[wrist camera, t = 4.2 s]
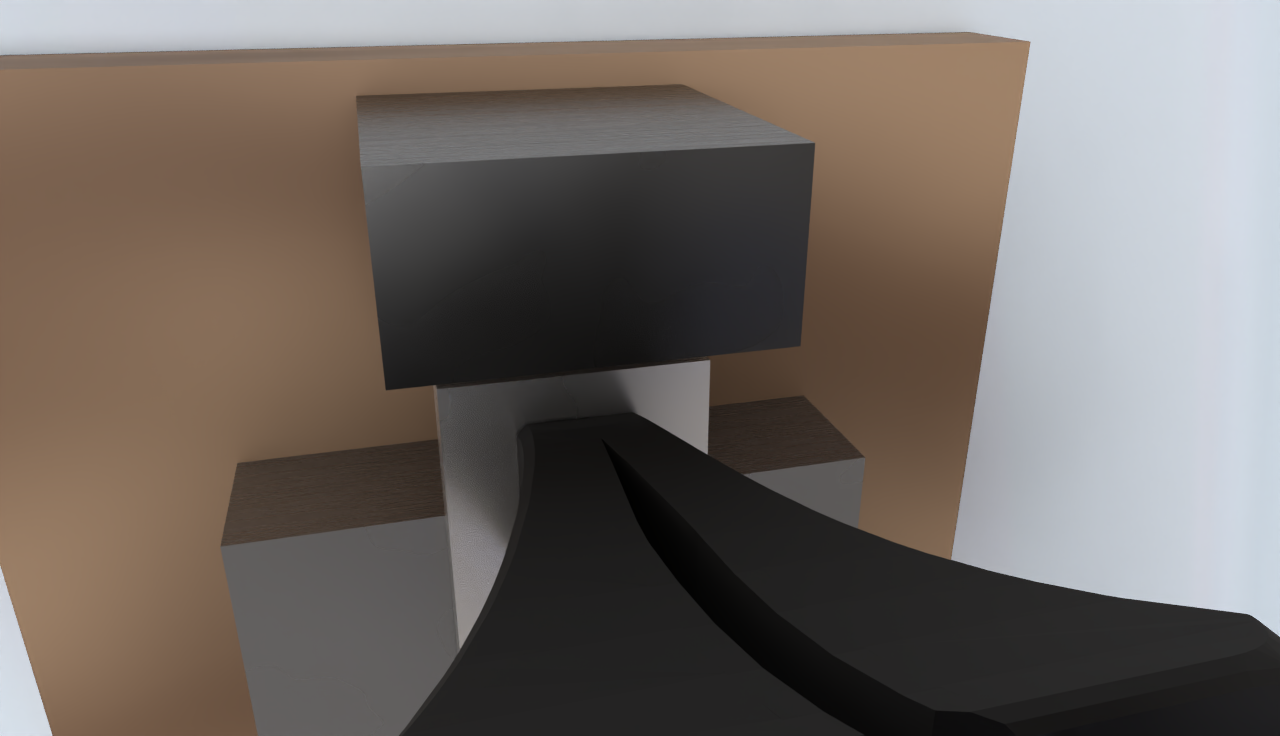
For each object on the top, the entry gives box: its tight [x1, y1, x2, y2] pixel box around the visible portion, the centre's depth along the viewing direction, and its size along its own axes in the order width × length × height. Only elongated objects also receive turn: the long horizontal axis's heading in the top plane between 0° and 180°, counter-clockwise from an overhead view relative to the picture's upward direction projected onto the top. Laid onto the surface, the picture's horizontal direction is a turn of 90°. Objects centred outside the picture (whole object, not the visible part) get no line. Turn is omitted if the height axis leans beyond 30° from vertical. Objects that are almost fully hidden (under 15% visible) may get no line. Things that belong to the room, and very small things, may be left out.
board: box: [0, 32, 1030, 736], centre depth 17 cm, size 20×14×2 cm
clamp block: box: [220, 84, 865, 736], centre depth 14 cm, size 16×8×4 cm, turn 0°
